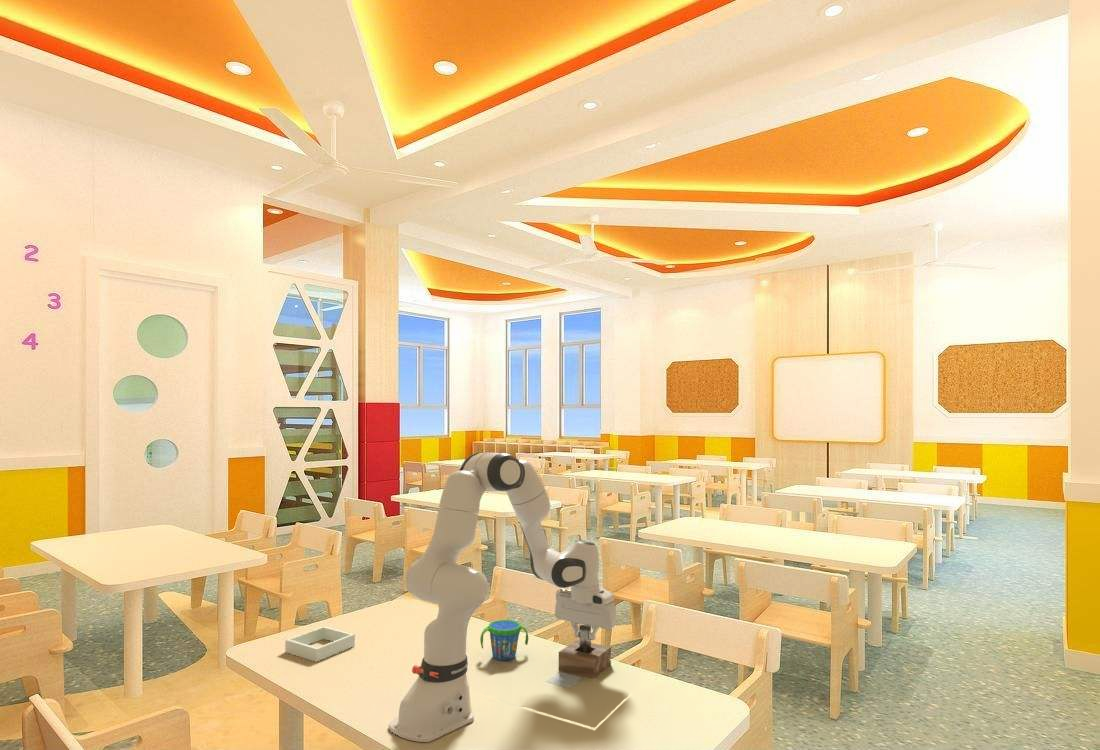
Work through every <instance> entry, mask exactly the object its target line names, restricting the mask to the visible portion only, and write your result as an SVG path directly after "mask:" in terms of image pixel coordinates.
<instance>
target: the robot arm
mask: <svg viewBox="0 0 1100 750" xmlns="http://www.w3.org/2000/svg"><path fill="white" fill-rule="evenodd" d="M541 479H542V478H541V477H540V475H539V474H538V471H536V469H535V467H534V466H533V465H532V463H531V462H530V461H529V460H525V459H518V458H517V457H515V456H514V455H512V454H510V453H506V452H494V451H489V452H488V451H487V452H482V453H481V452H477V453H473V454H471V455H469V456H467V458H465V459H464V461H463V462H462V464H461V466H460V469H458V470H456V471H453V472H451V473H450V474H449V475H448V477H447V479H446V481H445V484H444V487H443V490H442V493H441V496H440V500H439V506H438V511H437V515H436V521H435V525H434V529H433V534H432V537H431V539H430V542H429V544H428V546H427V548H426V549H425V550H424V552H423V554H422V555H420V558H418V559H417V560H415V561H414V562H413V563H412V564H411V565H410V566H409V567H408V569H407V571H406V574H405V576H404V577H405V579H404V585H405V589H406V591H407V592H408V594H410V595H412V597H415V598H417V599H418V600H420V601H423V602H427V603H431V604H433V605H434V604H435V605H437V606H438V613H437V617H436V618H435V619H433V620H432V621H430V622H429V623H428V624H427V626H426V627H425V629H424V632H423V635H424V636H423V638H424V639H423V657H422V660H421V664H420V666H419V665H418V664H414V665H413V666H412V669H411V673H412V674H416V675H418V677H417V679H416V680H415V681H414V682H413V684H412V685H411V687H410V688H409V689H408V691H407V692H406V694H405V695H404V697H403V698H402V700H401V701H400V703H399V708H398V715H397V716H396V717H395V718H394V719H392V720H391V721H390V722H389V723H388V729H390V730H389V731H390V732H391V733H392V732H393V733H392V734H393V735H395V734H396V736H397V735H398V737H400V738H402V739H406V740H409V741H412V742H417V743H418V742H419V743H429V742H432V741H434V740H436V739H438V738H441V737H442V736H445V735H447V734H449V733H451V732H453V731H455V730H457V729H459V728H461V727H464V726H465V725H467V724H470V723H472V722H473V721H474V720H475V719H474V718H475V717H474V713H473V712H472V706H471V697H470V686H469V682H468V676H467V672H468V665H469V661H468V656H467V655H468V654H467V635H468V633H467V631H468V626H469V622H470V620H471V617H472V615H473V613H474V612H475V611H476V610H477V609H479V608H480V607H481V606H482V605H483V604H484V603H485V601H486V599H487V597H488V594H489V593H488V592H489V582H488V578H487V577H486V575H485V574H484V573H483V572H481V571H480V570H477V569H475V568H473V567H472V566H468V565H462V564H457V563H456V562H457V560H458V557H459V556H460V554H461V552H462V551H463V550H464V549H466V548H468V547H470V546H471V545H472V544H473V543H474V540H475V537H476V530H477V523H478V520H479V519H478V518H479V511H480V504H481V499H482V497H483V495H484V493H485V492H505V493H506V494H507V497H508V498H509V499H508V500H509V501H510V504H511V506H512V508H513V511H514V513H515V516H516V517H517V519H518V522H519V526H520V529H521V532H522V534H523V537H524V540H525V542H526V544H527V547H528V551H529V561H530V563H529V564H530V569H531V573H532V574H533V576H535V577H536V579H540V580H541V581H545V582H547V583H549V584H551V585H553V586H555V587H556V588H557V587H558V588H559V589H558V590H557V591H556V592H555V601H556V602H555V608H554V616H555V618H556V619H557V620H560V621H561V620H562V621H565V622H570V625H571V627H572V629H573V631H574V637H576V638H579V626H578V624H580V625H590V626H591V630H592V631H591V633H590V634H589V640H591V641H595V640H596V638H597V637H596V635H597V632H598V630H599V629H606V630H612V629H613V628H615V627H616V625H617V624H618V622H617V621H618V620H617V609H616V608H617V607H616V605H615V603H614V602H613V601H614V598H615V595H614V593H613V592H611V591H609V590H607V589H605V588H603V587H602V586H600V580H599V572H600V558H599V557H600V555H599V550H598V546H597V545H596V544H595V543H594V542H592V541H589V540H584V539H574V540H573V541H572V543H571V544H570V545H569V546H568V547H567V548H565V550H562V551H561V552H559V551H558V550H556V549H554V548H553V547H552V546H551V545H550V544H549V542H548V540H547V538H546V537H547V536H546V534H545V532H544V528H543V526H542V521H544V520H545V519H546V517H547V516H548V515H549V513H550V510H551V501H550V497H549V494H548V491H547V489H546V488H545V485H544V482H543V481H542V480H541ZM565 588H570V589H565Z"/></svg>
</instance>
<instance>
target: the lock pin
mask: <svg viewBox="0 0 1100 750" xmlns="http://www.w3.org/2000/svg"><path fill="white" fill-rule="evenodd" d="M578 628H579V637H578V640H579V650H580V651H582V652H589V651H591V643H592V640H589V634H590V633H591V632H592V626H590V625H585V624H580V625H579V626H578Z"/></svg>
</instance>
